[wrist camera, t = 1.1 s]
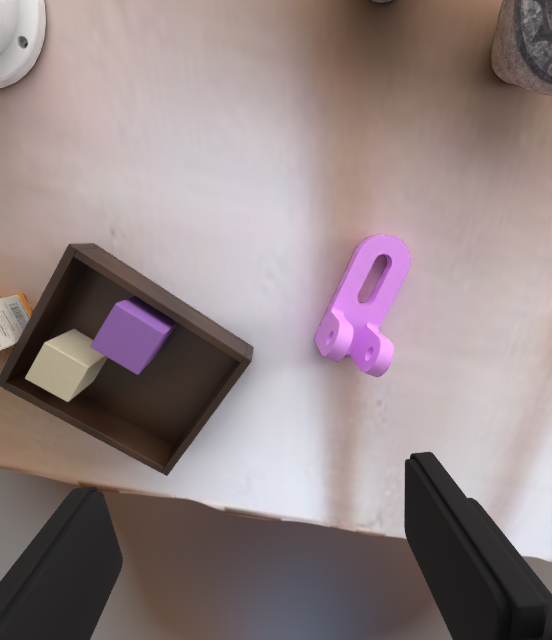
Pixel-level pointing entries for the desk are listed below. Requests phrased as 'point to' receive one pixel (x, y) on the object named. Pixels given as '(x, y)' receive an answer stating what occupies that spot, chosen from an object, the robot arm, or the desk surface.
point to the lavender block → (133, 334)
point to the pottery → (523, 44)
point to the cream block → (66, 365)
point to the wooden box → (117, 381)
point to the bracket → (364, 307)
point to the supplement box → (13, 319)
